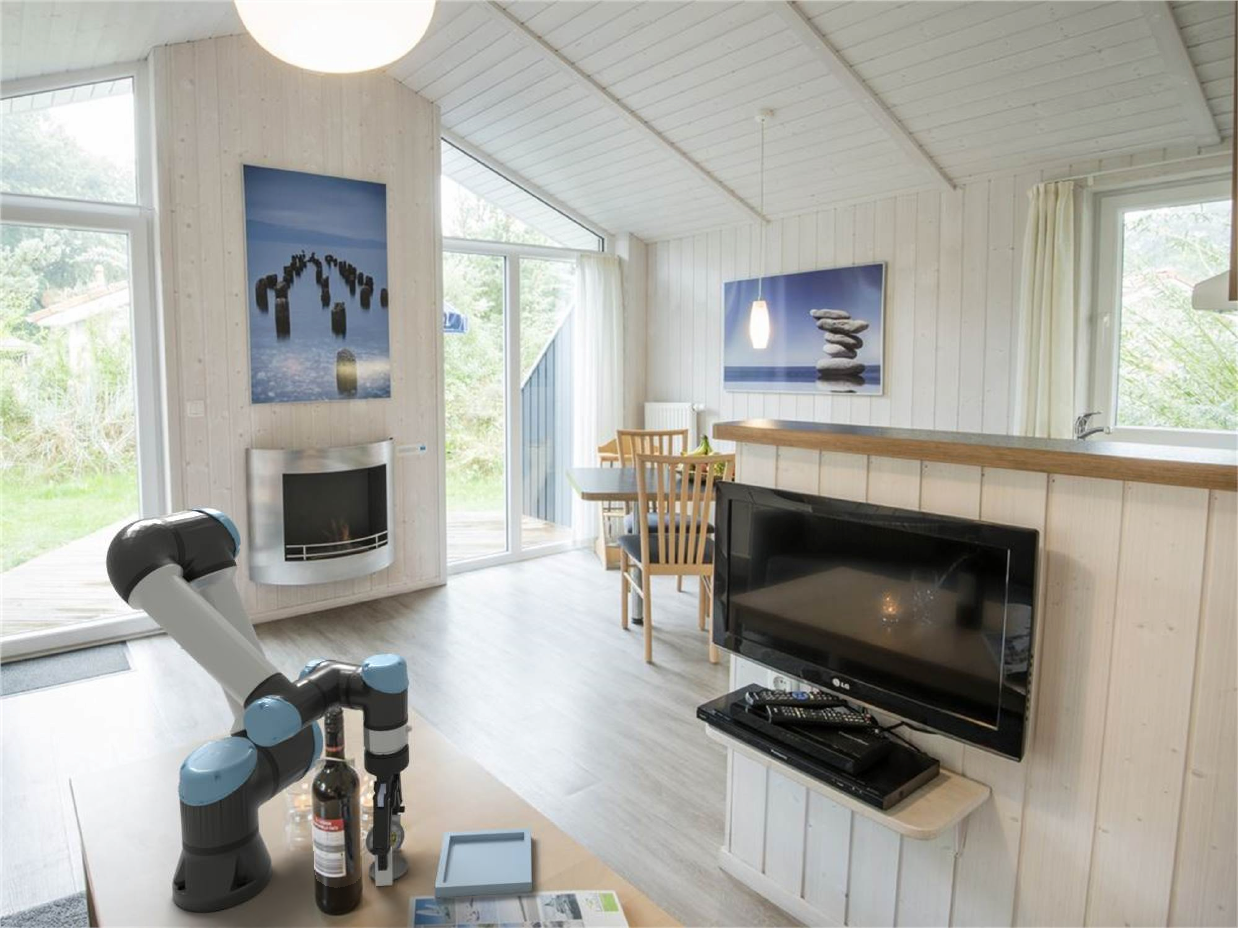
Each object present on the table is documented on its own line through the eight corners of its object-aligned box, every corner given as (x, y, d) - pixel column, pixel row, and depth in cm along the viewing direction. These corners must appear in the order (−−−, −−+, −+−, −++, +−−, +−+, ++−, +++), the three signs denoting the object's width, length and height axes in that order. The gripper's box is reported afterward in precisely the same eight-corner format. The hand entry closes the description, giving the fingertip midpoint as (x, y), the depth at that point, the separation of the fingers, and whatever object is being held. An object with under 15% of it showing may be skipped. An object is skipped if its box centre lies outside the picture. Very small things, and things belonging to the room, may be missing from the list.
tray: (434, 897, 134) (434, 887, 134) (444, 841, 150) (444, 832, 150) (531, 891, 136) (531, 881, 136) (530, 836, 152) (530, 827, 152)
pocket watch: (387, 888, 136) (386, 832, 135) (353, 871, 141) (352, 817, 140) (422, 863, 143) (422, 810, 142) (389, 848, 148) (388, 796, 147)
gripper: (399, 776, 129) (401, 905, 132) (417, 716, 151) (418, 829, 153) (350, 778, 128) (354, 908, 131) (375, 718, 150) (378, 831, 153)
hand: (388, 865), depth 142 cm, fingers open, 9 cm apart
